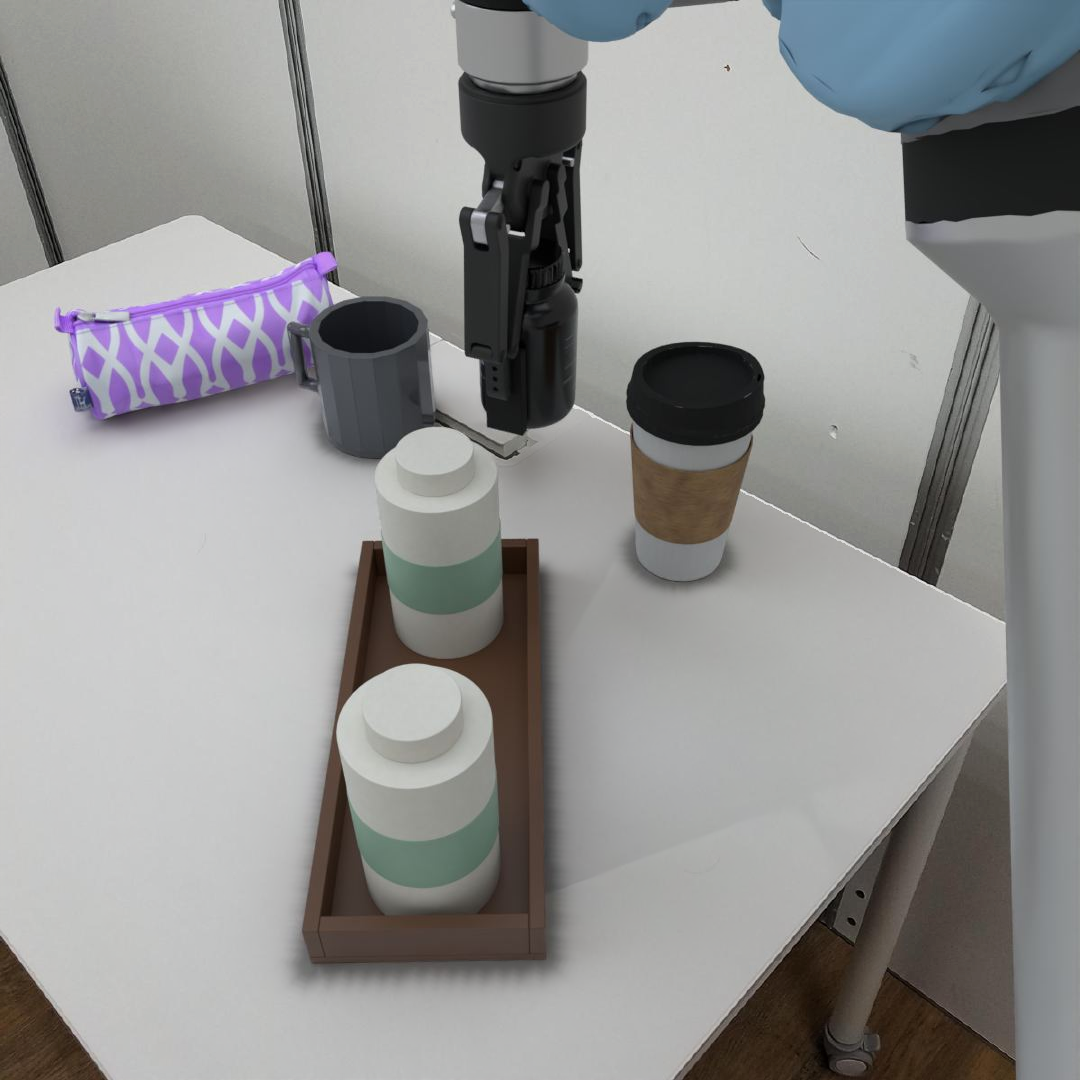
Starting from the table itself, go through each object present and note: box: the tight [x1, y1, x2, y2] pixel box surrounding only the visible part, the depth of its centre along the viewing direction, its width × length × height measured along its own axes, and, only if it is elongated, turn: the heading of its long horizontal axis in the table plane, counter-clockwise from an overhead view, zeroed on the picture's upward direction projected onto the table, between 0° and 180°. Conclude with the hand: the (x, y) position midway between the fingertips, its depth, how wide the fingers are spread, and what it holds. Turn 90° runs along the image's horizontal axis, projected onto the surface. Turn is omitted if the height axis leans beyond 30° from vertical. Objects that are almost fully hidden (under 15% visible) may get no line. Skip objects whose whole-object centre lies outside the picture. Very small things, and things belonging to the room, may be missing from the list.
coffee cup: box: [625, 341, 766, 582], centre depth 72 cm, size 8×8×15 cm
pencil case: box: [53, 251, 339, 421], centre depth 89 cm, size 22×9×9 cm, turn 115°
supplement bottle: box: [478, 237, 579, 430], centre depth 76 cm, size 7×7×12 cm
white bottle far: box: [373, 426, 504, 659], centre depth 67 cm, size 7×7×14 cm
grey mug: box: [287, 295, 437, 459], centre depth 85 cm, size 12×9×9 cm
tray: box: [301, 537, 547, 964], centre depth 64 cm, size 12×28×3 cm, turn 1°
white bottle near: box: [336, 664, 501, 915], centre depth 54 cm, size 7×7×14 cm
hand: (528, 399), depth 80 cm, fingers closed on supplement bottle, 7 cm apart
